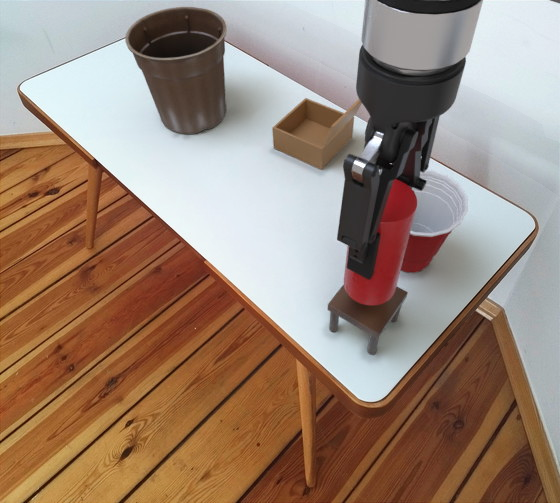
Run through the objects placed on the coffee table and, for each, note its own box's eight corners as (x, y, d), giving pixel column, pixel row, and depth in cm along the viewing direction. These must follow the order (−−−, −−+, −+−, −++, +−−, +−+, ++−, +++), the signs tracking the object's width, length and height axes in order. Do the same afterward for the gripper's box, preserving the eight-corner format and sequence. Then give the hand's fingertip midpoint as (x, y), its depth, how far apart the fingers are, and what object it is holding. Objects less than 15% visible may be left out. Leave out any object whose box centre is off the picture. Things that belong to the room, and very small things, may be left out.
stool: (400, 317, 67) (408, 292, 62) (373, 358, 63) (379, 334, 59) (354, 292, 70) (357, 265, 65) (325, 329, 66) (327, 304, 61)
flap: (353, 113, 85) (355, 114, 85) (321, 145, 81) (323, 146, 81) (364, 93, 81) (366, 94, 81) (331, 125, 77) (333, 127, 77)
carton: (352, 137, 89) (354, 116, 86) (321, 170, 85) (322, 149, 81) (305, 118, 93) (305, 97, 90) (273, 148, 88) (272, 127, 85)
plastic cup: (353, 260, 73) (361, 201, 63) (398, 217, 78) (411, 156, 68) (419, 303, 68) (438, 246, 59) (462, 255, 73) (486, 195, 63)
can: (405, 278, 60) (428, 192, 49) (379, 314, 57) (398, 232, 46) (360, 255, 62) (372, 168, 51) (333, 289, 59) (341, 205, 48)
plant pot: (136, 139, 91) (109, 55, 79) (163, 86, 101) (143, 4, 88) (225, 146, 89) (213, 61, 77) (244, 91, 99) (235, 8, 86)
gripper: (425, -18, 43) (388, 184, 61) (292, 97, 33) (295, 295, 51) (514, 5, 40) (447, 210, 58) (396, 139, 30) (361, 333, 49)
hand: (376, 250), depth 55 cm, fingers closed on can, 6 cm apart
